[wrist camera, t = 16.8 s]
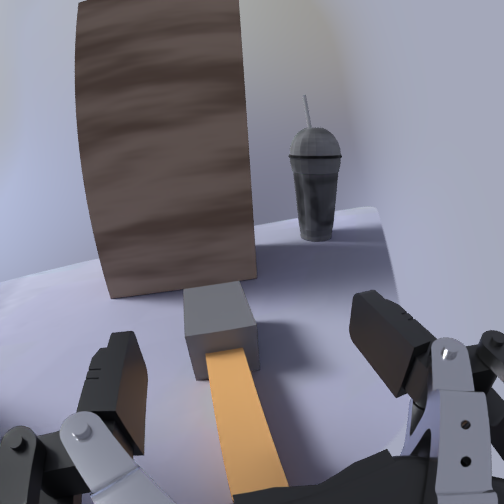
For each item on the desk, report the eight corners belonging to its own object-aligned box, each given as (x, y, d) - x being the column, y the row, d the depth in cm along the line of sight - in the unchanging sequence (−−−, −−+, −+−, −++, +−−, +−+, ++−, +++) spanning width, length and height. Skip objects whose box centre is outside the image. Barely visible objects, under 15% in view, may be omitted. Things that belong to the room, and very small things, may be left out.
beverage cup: (349, 242, 40) (348, 94, 32) (299, 247, 39) (293, 91, 31) (329, 226, 46) (327, 99, 39) (285, 230, 46) (279, 98, 38)
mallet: (308, 497, 10) (316, 467, 9) (217, 516, 10) (200, 491, 8) (243, 322, 25) (239, 280, 23) (191, 330, 24) (183, 289, 22)
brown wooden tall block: (257, 278, 32) (236, -28, 19) (110, 298, 29) (79, -6, 16) (240, 245, 41) (223, 8, 28) (125, 261, 38) (101, 24, 25)
